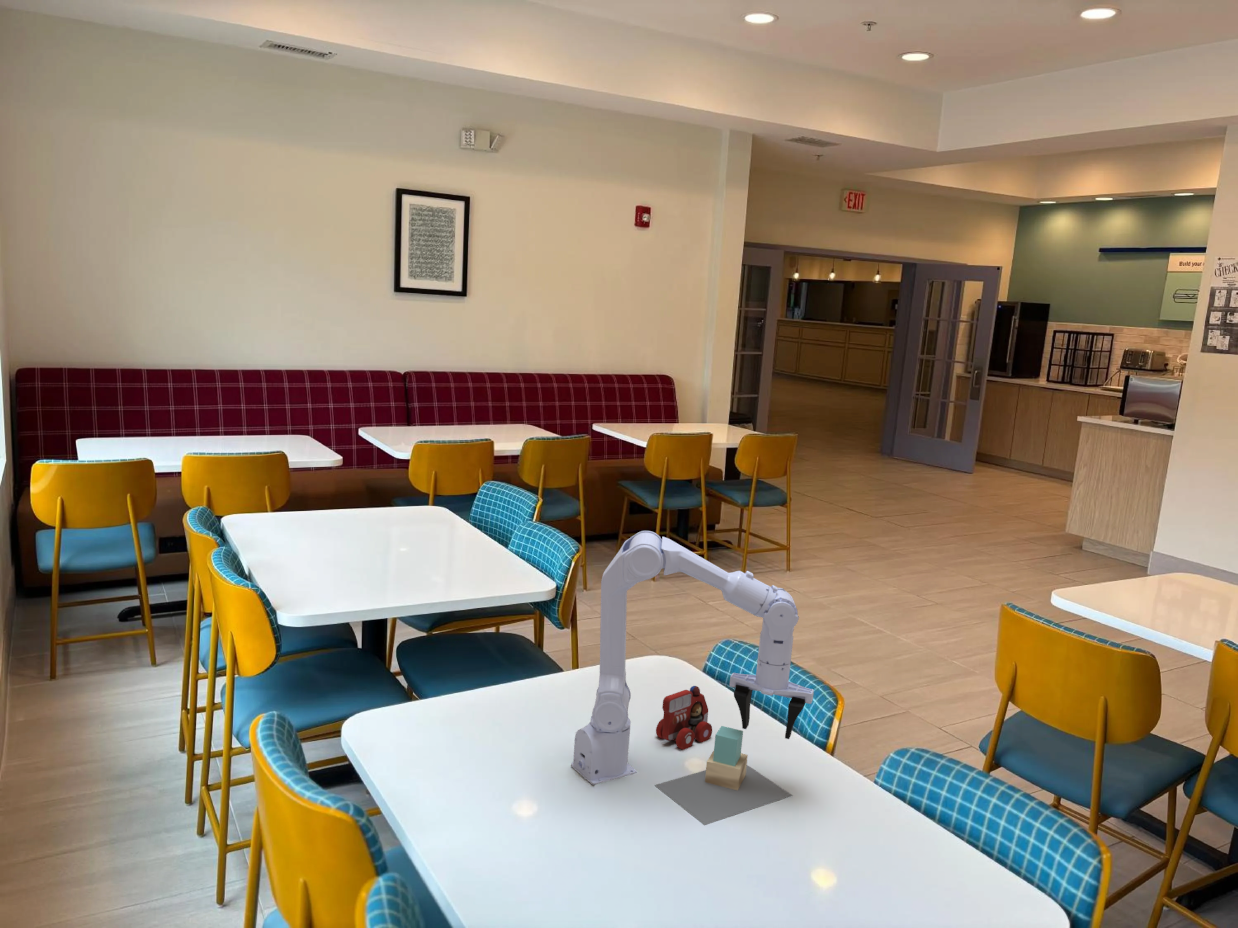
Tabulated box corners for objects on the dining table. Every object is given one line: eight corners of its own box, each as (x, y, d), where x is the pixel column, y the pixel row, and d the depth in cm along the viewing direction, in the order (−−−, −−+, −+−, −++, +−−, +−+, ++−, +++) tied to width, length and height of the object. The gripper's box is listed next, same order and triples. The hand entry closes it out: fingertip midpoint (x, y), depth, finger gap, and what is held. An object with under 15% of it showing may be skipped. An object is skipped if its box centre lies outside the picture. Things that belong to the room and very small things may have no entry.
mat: (704, 827, 153) (704, 824, 153) (653, 787, 164) (654, 784, 164) (792, 797, 164) (792, 795, 164) (739, 761, 175) (740, 759, 175)
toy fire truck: (718, 737, 185) (722, 688, 183) (674, 755, 176) (679, 704, 174) (692, 724, 190) (696, 676, 188) (648, 741, 181) (653, 691, 179)
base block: (737, 790, 164) (739, 769, 164) (704, 781, 166) (706, 761, 166) (745, 774, 170) (747, 754, 169) (713, 767, 172) (715, 746, 171)
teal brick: (734, 766, 165) (737, 739, 164) (713, 760, 166) (715, 734, 165) (740, 756, 168) (743, 730, 167) (719, 751, 170) (721, 725, 169)
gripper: (728, 658, 162) (721, 731, 165) (811, 675, 157) (803, 750, 160) (738, 645, 169) (731, 715, 171) (818, 661, 164) (810, 733, 166)
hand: (766, 731), depth 166 cm, fingers open, 7 cm apart
